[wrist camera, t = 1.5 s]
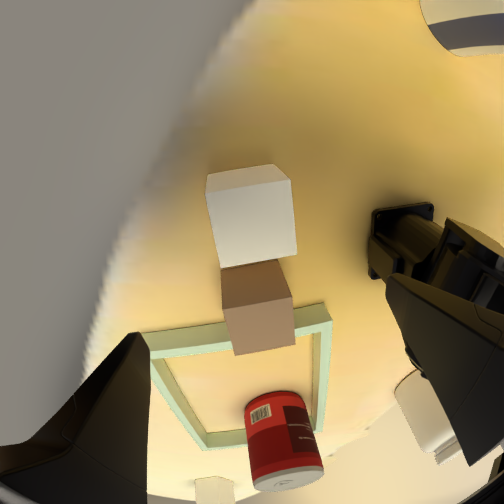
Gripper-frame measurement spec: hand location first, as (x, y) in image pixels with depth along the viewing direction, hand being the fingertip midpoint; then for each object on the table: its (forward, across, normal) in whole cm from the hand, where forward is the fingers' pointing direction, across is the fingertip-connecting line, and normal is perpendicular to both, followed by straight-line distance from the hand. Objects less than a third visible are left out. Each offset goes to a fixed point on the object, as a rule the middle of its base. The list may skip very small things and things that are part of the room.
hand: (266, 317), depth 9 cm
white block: (+12, 0, 0) cm, 12 cm away
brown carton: (+12, 0, +7) cm, 14 cm away
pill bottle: (+12, -20, +32) cm, 40 cm away
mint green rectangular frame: (+12, +4, +21) cm, 24 cm away
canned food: (+12, +1, +26) cm, 29 cm away
